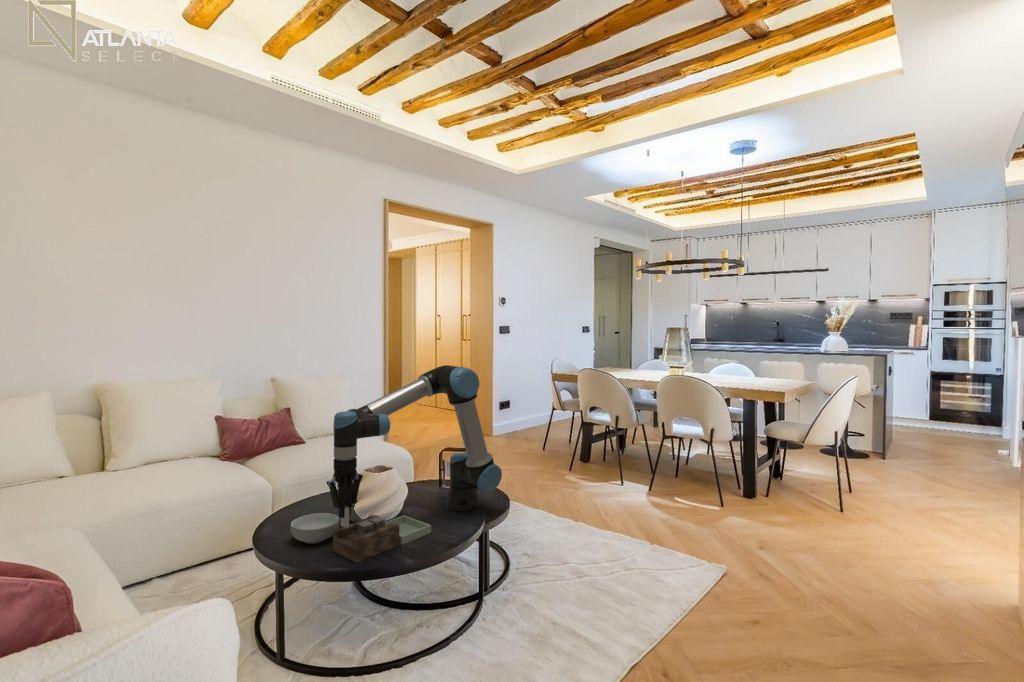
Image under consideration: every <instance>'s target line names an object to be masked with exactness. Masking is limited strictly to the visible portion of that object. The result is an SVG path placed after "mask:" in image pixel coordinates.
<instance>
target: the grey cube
mask: <svg viewBox="0 0 1024 682" xmlns="http://www.w3.org/2000/svg"><path fill="white" fill-rule="evenodd" d="M369 522H372V523H374V531H375V530H377V529H380V528H383V527H385V522H386V518H383V517H380V516H379V517H375V518H373V519H370V520H369Z"/></svg>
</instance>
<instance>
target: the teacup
mask: <svg viewBox="0 0 1024 682" xmlns="http://www.w3.org/2000/svg"><path fill="white" fill-rule="evenodd" d="M357 501H358V500H357ZM357 501H356V503H357ZM356 503H355V504H356ZM355 504H352V505H353V507H351V515H350V516H349V522H352V523H355V522H358V521H361V520H362V519H361V518H360V517H359V516H358V515H357V514H356V512H355V510H354V507H355ZM345 506H346V505H345Z"/></svg>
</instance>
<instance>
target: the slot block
mask: <svg viewBox="0 0 1024 682" xmlns="http://www.w3.org/2000/svg"><path fill="white" fill-rule="evenodd" d="M375 517H380V516H378V515H372V516H369V517H368V518H366V519H363V520H361V521H358V522H352V523H349V526H348V527H343V526H341V527H338V529H335V530H333V535H332V551H333V552H334V553H336V554H338V555H341V556H342V557H343V558H346V559H347V560H350V561H353V562H354V563H356V564H358V563H360V562H362V560H363V561H365V560H368V559H370V558H372V557H374V556H376V555H378V554H382V553H384V552H386V551H389V550H390V549H394V548H396V547H398V546H400V545H401V544H400V539H399V524H397V523H393V524H391V525H388V526H385V527H383V528H380V529H377V530H375V531H372V532H369V533H367V534H364V535H361V536H359V535H357V524H358V523H361V522H364V521H369V520H370V519H373V518H375ZM357 562H358V563H357Z"/></svg>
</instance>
